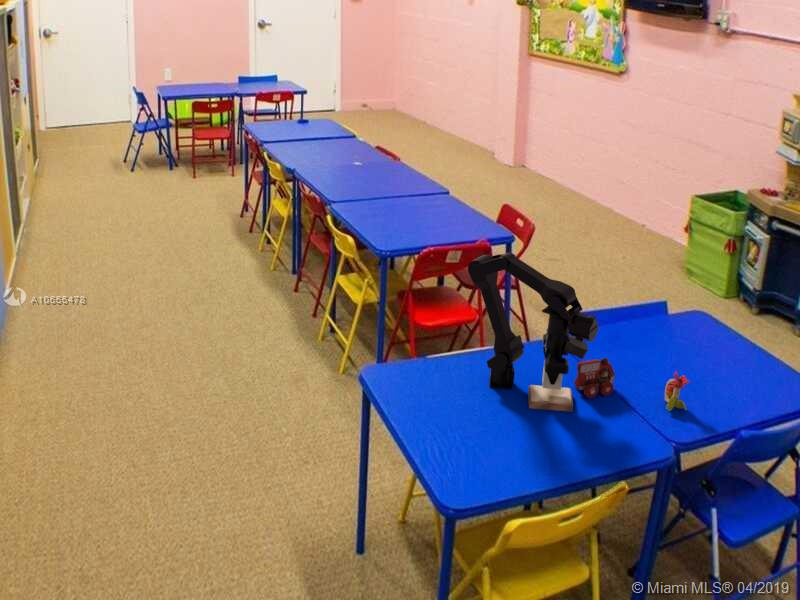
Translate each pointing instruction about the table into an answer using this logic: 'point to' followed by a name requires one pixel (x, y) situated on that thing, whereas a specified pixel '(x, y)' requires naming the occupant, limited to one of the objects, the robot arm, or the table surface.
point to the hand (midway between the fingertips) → (552, 379)
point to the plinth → (550, 398)
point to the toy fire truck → (595, 377)
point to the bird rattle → (675, 392)
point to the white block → (547, 383)
